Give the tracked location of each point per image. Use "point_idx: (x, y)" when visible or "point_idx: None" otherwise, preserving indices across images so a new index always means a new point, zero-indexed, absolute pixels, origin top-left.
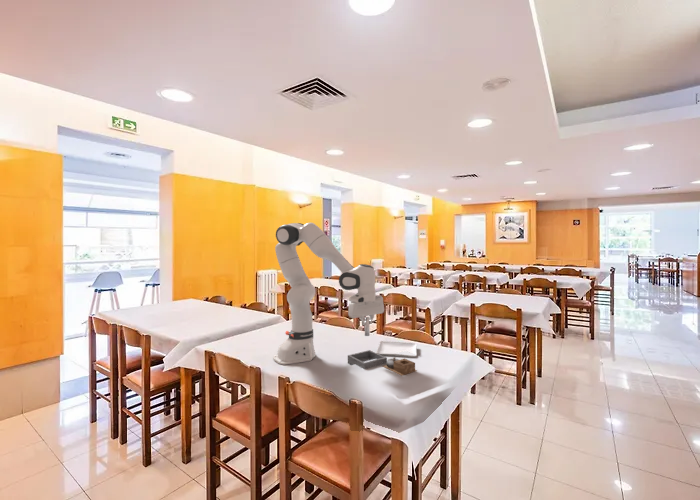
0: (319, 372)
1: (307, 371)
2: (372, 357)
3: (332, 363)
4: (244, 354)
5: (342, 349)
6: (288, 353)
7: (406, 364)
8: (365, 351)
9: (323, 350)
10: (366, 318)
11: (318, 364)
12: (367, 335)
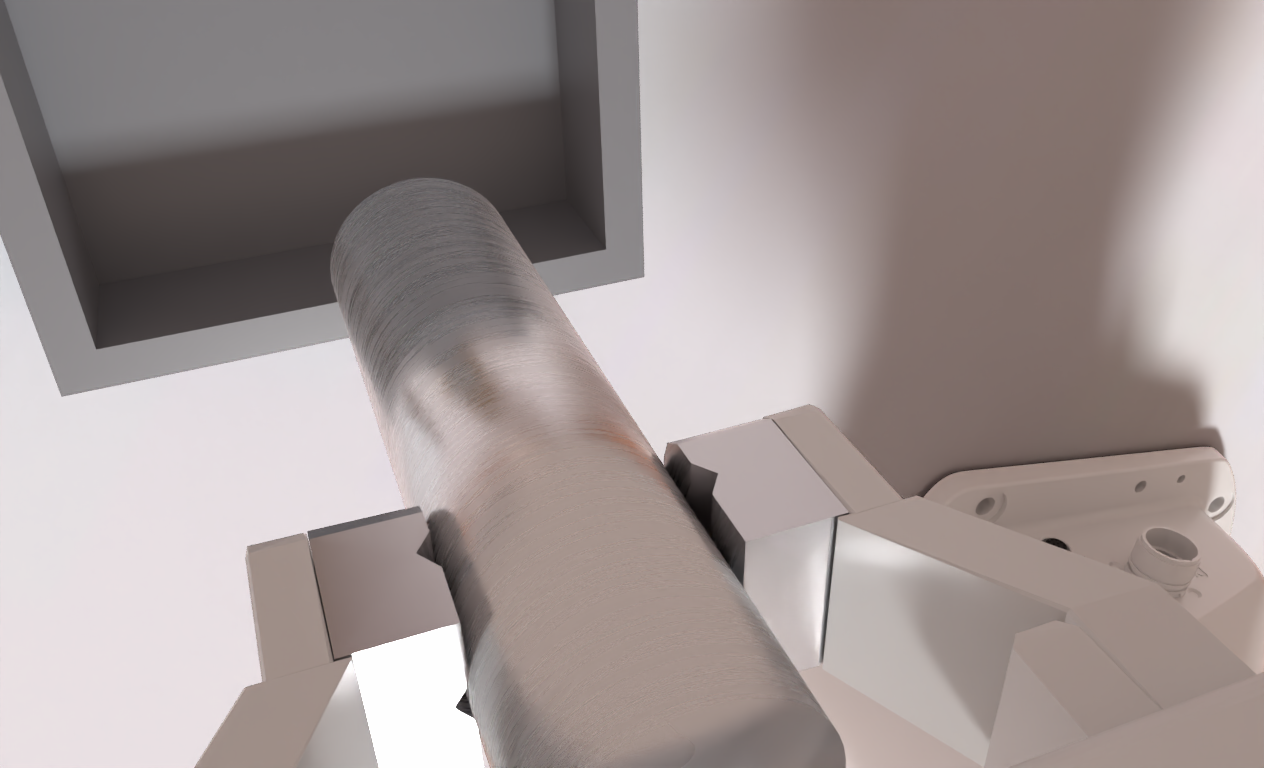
0: (1110, 55)
1: (1180, 162)
2: (61, 187)
3: (790, 295)
4: None
5: None
6: (1227, 561)
7: None
8: (198, 347)
9: None
10: (804, 688)
11: (950, 331)
12: (460, 193)
